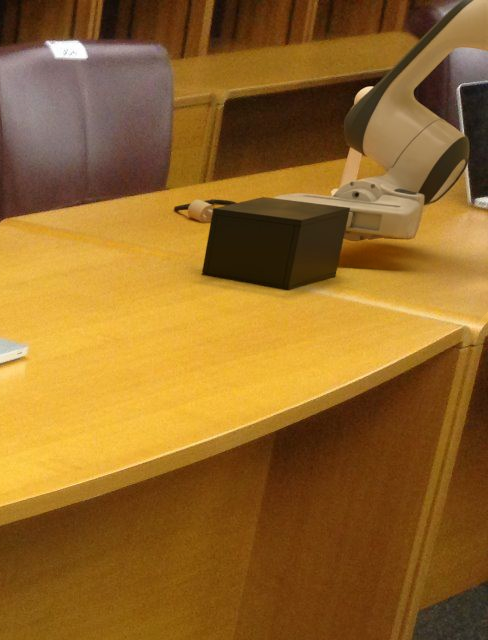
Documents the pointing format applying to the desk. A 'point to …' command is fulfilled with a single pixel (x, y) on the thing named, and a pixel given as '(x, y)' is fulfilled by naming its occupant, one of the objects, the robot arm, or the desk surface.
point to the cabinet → (275, 242)
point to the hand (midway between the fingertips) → (319, 221)
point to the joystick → (352, 154)
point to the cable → (202, 208)
